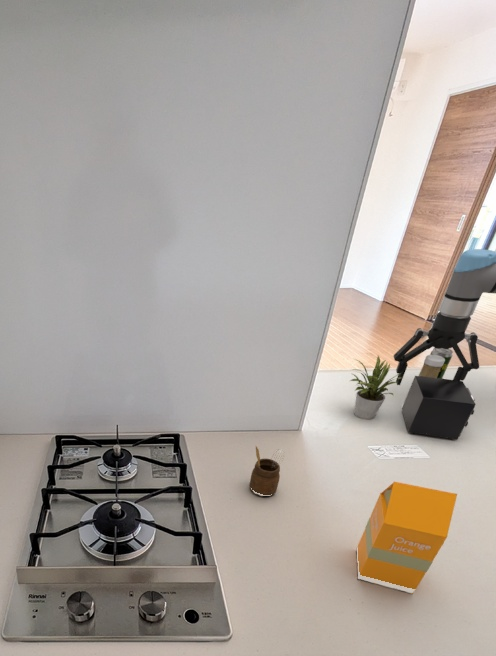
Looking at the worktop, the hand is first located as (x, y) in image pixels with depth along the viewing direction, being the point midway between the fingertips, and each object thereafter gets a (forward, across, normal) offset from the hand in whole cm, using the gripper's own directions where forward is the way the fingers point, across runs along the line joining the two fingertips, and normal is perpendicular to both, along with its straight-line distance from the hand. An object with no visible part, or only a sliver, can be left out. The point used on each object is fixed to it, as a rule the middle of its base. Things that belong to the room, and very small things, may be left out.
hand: (424, 386), depth 127 cm
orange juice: (+4, +16, +73) cm, 75 cm away
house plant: (+4, +16, +13) cm, 21 cm away
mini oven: (+4, 0, +15) cm, 16 cm away
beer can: (+5, -4, -10) cm, 12 cm away
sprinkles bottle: (+5, 0, 0) cm, 5 cm away
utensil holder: (+4, +39, +57) cm, 69 cm away
